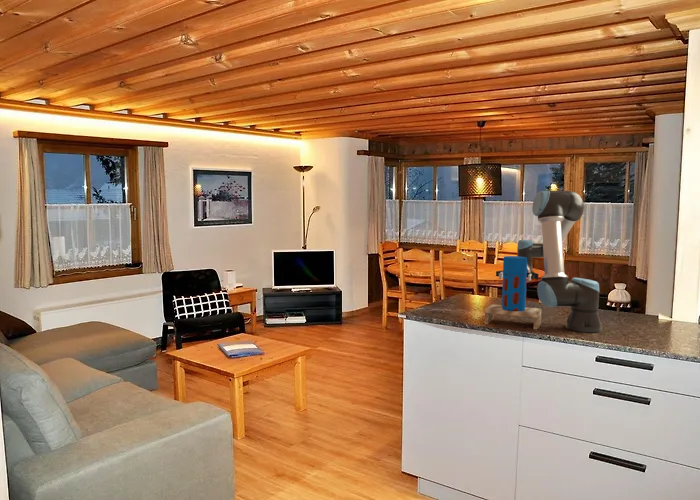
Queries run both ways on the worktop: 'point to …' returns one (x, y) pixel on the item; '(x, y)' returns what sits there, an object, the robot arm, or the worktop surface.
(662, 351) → the worktop surface
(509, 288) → the thermos
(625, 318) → the worktop surface
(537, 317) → the stool
